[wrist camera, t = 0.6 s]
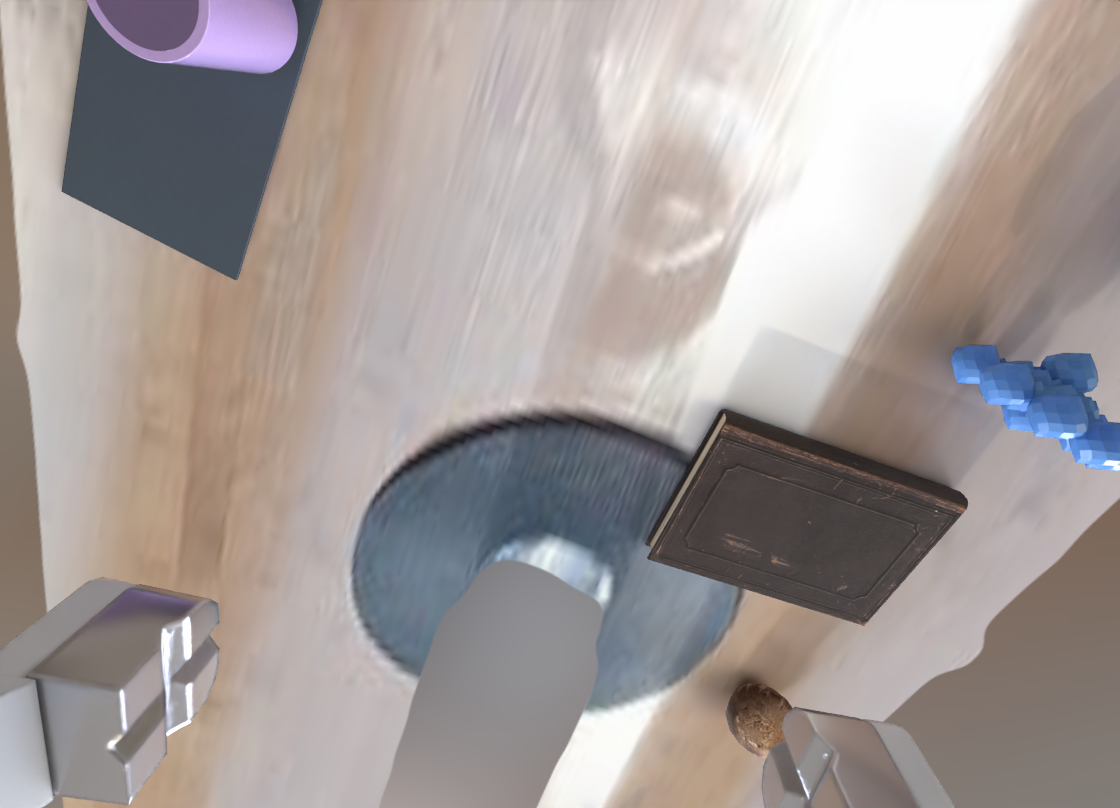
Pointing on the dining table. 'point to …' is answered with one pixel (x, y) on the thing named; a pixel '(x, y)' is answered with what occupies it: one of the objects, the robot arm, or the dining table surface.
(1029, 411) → the blue knobbly flower shape
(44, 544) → the dining table surface
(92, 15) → the placemat
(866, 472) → the hardcover book
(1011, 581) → the dining table surface
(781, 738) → the mushroom
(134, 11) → the lilac tumbler
